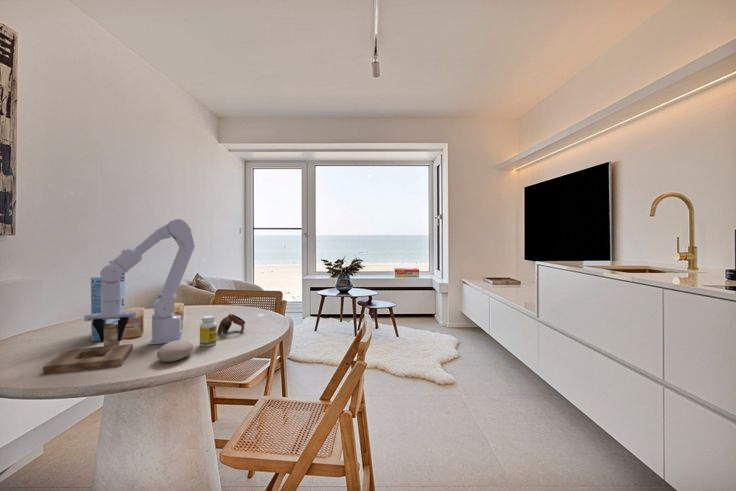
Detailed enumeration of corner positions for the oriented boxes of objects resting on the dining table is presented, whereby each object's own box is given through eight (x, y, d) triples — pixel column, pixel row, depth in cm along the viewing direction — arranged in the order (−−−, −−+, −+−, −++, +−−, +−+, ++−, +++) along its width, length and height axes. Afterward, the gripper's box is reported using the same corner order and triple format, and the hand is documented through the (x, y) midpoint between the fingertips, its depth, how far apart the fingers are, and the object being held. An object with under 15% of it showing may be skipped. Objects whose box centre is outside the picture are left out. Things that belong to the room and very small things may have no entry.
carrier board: (132, 349, 122) (132, 343, 121) (120, 365, 107) (120, 359, 107) (65, 355, 115) (65, 349, 115) (42, 373, 100) (42, 366, 100)
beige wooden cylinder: (120, 345, 126) (120, 322, 126) (117, 349, 122) (117, 325, 122) (105, 346, 125) (105, 323, 124) (101, 350, 121) (101, 326, 120)
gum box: (106, 341, 131) (106, 277, 131) (89, 342, 130) (89, 277, 129) (126, 327, 150) (125, 271, 149) (111, 328, 149) (111, 272, 148)
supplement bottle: (210, 347, 125) (210, 318, 125) (196, 346, 126) (196, 318, 126) (219, 342, 130) (219, 315, 130) (206, 341, 132) (206, 314, 131)
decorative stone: (179, 366, 107) (179, 349, 107) (148, 365, 108) (148, 348, 107) (199, 352, 120) (199, 337, 120) (172, 352, 120) (172, 336, 120)
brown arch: (220, 330, 149) (231, 312, 151) (240, 342, 148) (251, 323, 150) (208, 330, 137) (220, 311, 139) (229, 342, 136) (241, 322, 138)
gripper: (138, 297, 130) (139, 335, 130) (89, 299, 124) (89, 339, 124) (134, 300, 123) (134, 340, 123) (81, 303, 117) (82, 345, 118)
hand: (111, 340), depth 123 cm, fingers closed on beige wooden cylinder, 4 cm apart
